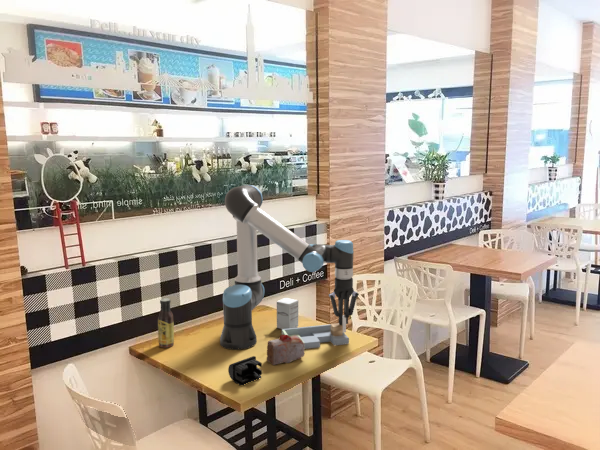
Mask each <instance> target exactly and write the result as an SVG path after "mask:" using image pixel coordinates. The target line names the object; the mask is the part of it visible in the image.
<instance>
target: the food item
mask: <svg viewBox="0 0 600 450" xmlns="http://www.w3.org/2000/svg"><path fill="white" fill-rule="evenodd" d="M304 347H305V344H304V342H303V341H302V340H301V339H300V337H298V336H296V335H295V336H288V335H282V334H281V335H280V336H279V337H278V338H276V339H272V340H268V341H267V346H266V360H267V362H268V363H269V364H271V365H272V366H276V365H279V364H282V363H283V364H284V363H286V364H289V363H291V362H293V361H296V360H300V359H302V358H303V357H304V356H305V349H304Z"/></svg>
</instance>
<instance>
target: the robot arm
mask: <svg viewBox="0 0 600 450" xmlns="http://www.w3.org/2000/svg"><path fill="white" fill-rule="evenodd" d="M263 199H264V198H263V194H262V192H261V190H260V189H259V188H258V187H256V186H255V185H252V184H242V185H240V186H235V187H232V188H231V189H230V190H228V192H227V193H226V194H225V198H224V207H225V208H226V210H227V212H229V213H230V214H231V215H232V218H233V219H234V220H235V221H236V251H237V252H236V253H237V255H236V256H237V257H236V258H237V276H235V277H234V284H233V285H232V286H230V285H229V286H228V287H226V288H225V289H224V290H223V293H222V308H223V312H222V313H223V315H222V316H223V328H222V330H221V335H220V337H219V344H220V346H221V347H223V348H224V349H227V350H234V351H235V350H237V351H238V350H239V351H241V350H245V349H250V348H252V347H254V346H255V345H256V344H257V341H258V340H257V334H256V331H255V329H254V326H253V316H252V315H253V312H252V311H253V310H254V309H255V308H257V306H258V305H260V303H261V302H262V301H263V299H264V296H265V287H264V285H263V283H262V277H261V276H260V275H259V273H258V271H259V270H258V236H257V235H258V232H259V233H260V234H262V235H263V236H265V238H267V239H269V240H270V242H273V243H274V244H275V245H276V246H277V247H279V248H281V249H283V251H285V252H286V253H287V254H289V255H291V256H292V257H294V259H296V260H298V261H299V262H300V263H301V264H302V266H303V268H304V270H306V271H307V272H309V273H310V272H311V273H314V272H317V271H319V270H320V269H321V268H322V267H323V265H324V264H325V263H328V264H334V277H335V278H334V289H333V292H331V293H329V294H328V297H329V299H330V302H331V307H332V311H333V314H334V315H335V316H336V317H338V323H339V324H340V325H342V326H343V333H346V332H347V325H348V324H349V317H350V316H353V314H354V310H355V306H356V301H357V299H358V298H359V295H360V294H359V292H357V291H355V289H354V279H353V277H354V243H353V241H351V240H349V239H338V240H336V241H334V244H321V243H320V244H318V243H310V244H309V243H307V242H306V241H305V240H303V239H302V238H301V237H299V236H298V235H297V234H296V233H294V232H293V231H291V230H290V229H288V228H287V227H286V226H285V225H283V224H282V223H280V222H279V221H277V220H276V219H275V218H273V217H272V216H270V215H269V214H268V213H267V212H266V211H264V210H262V209H261V206H262V204H263V201H264V200H263ZM336 297H337V301H338V303H337V301H336ZM350 297H351V299H350Z"/></svg>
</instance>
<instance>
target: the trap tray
mask: <svg viewBox="0 0 600 450" xmlns="http://www.w3.org/2000/svg"><path fill="white" fill-rule="evenodd" d="M331 324H332V323H329V324H321V325H310V326H301V327H299V326H298V327H296V328H289V329H281V335H288V336H295V335H296V336H298V337H300V339H301V340H302V341H303V342H304V344H305V347H304V350H305V349H316V348H321V343H329V342H330V343H331V344H332V345H333V346H341V345H342V346H343V345H349V344H350V343H349V342H350V337H348V335H347V334H346V332H344V333H343V335H342V336H333V335H332V334H331Z"/></svg>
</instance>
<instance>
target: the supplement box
mask: <svg viewBox="0 0 600 450" xmlns="http://www.w3.org/2000/svg"><path fill="white" fill-rule="evenodd" d="M276 328H277V329H280V330H282V329H289V328H299V300H298V299H296V298H295V299H293V298H289V297H283V298H281V299H279V300H277V301H276Z"/></svg>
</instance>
